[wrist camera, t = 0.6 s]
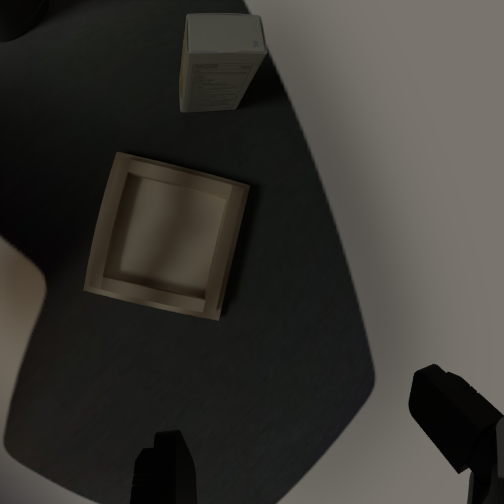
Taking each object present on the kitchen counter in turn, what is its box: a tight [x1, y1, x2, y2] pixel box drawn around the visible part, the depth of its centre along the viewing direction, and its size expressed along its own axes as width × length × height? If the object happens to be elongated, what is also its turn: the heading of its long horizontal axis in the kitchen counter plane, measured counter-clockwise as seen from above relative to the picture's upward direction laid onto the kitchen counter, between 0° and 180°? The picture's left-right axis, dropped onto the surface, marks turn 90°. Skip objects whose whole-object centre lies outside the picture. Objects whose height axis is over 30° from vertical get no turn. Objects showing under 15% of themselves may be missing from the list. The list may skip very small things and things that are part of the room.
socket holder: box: [84, 152, 250, 320], centre depth 30 cm, size 14×14×2 cm
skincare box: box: [180, 13, 267, 112], centre depth 26 cm, size 6×4×12 cm
